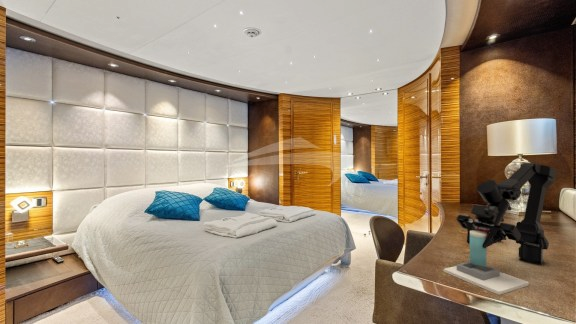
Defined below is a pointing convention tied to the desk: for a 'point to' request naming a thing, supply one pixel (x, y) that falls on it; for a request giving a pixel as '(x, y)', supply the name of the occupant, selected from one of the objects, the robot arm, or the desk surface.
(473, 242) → the teal cylinder white cap
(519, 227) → the robot arm
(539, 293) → the desk surface
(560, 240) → the desk surface
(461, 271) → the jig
